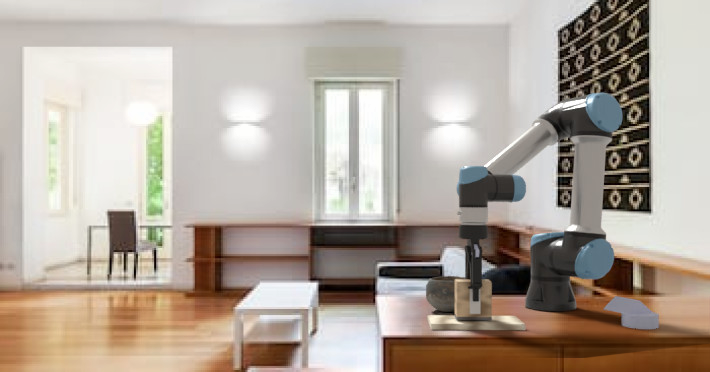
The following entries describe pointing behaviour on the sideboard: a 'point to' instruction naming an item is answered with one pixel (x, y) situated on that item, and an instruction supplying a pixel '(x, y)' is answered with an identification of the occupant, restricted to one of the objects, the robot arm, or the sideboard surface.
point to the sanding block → (464, 300)
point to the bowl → (442, 293)
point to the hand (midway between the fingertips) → (473, 311)
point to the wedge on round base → (633, 313)
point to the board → (474, 323)
